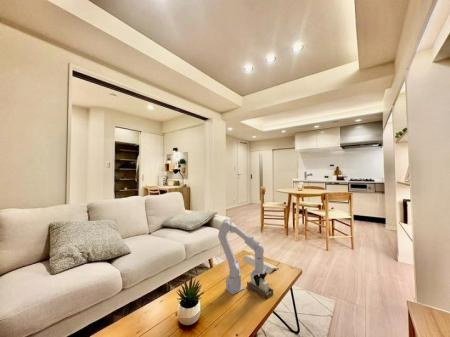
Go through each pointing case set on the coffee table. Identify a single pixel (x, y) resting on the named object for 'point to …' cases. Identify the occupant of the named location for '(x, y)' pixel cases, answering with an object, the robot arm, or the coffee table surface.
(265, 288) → the light grey block
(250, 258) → the crown molding
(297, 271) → the coffee table surface
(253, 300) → the coffee table surface
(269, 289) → the rack
